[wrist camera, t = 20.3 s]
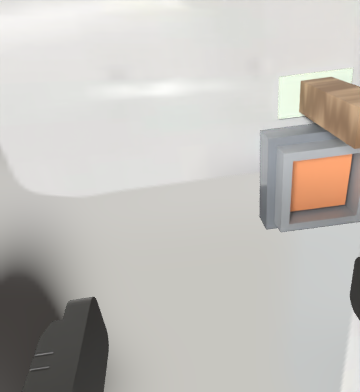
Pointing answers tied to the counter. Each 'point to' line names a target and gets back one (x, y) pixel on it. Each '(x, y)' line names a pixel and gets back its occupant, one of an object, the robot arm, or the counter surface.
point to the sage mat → (291, 89)
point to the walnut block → (333, 107)
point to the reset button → (320, 182)
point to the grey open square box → (282, 177)
